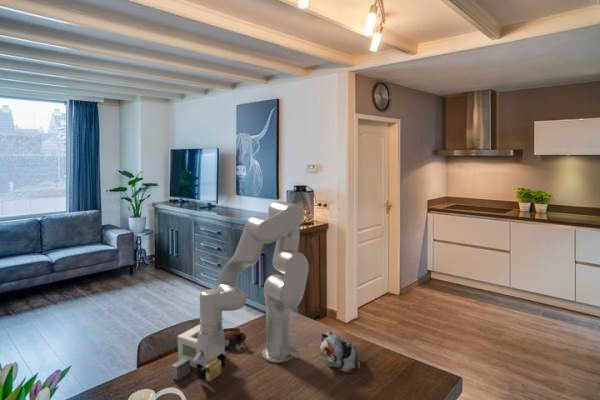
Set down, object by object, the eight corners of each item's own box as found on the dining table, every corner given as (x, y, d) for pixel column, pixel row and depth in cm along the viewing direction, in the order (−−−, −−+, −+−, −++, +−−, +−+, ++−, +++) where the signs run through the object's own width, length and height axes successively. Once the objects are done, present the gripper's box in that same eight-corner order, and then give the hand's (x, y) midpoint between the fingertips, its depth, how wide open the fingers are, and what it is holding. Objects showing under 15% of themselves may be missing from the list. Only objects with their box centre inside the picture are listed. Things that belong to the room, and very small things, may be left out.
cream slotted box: (224, 355, 148) (223, 330, 147) (202, 370, 138) (201, 343, 137) (201, 347, 154) (200, 323, 153) (178, 361, 144) (177, 336, 143)
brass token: (221, 373, 136) (220, 360, 136) (209, 382, 131) (209, 368, 130) (215, 371, 137) (215, 358, 137) (204, 379, 132) (203, 366, 132)
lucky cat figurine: (362, 375, 135) (347, 347, 130) (330, 384, 137) (315, 358, 132) (357, 344, 149) (344, 317, 144) (329, 353, 151) (315, 327, 146)
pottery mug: (214, 350, 153) (215, 328, 156) (228, 350, 161) (228, 330, 164) (240, 348, 149) (240, 326, 152) (252, 348, 157) (252, 327, 160)
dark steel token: (190, 372, 137) (189, 359, 136) (177, 380, 132) (176, 367, 131) (185, 370, 138) (184, 357, 137) (172, 378, 133) (171, 365, 132)
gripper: (219, 314, 141) (220, 358, 143) (184, 332, 126) (185, 381, 128) (235, 319, 138) (236, 363, 140) (201, 338, 123) (202, 388, 125)
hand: (211, 372), depth 134 cm, fingers open, 9 cm apart
